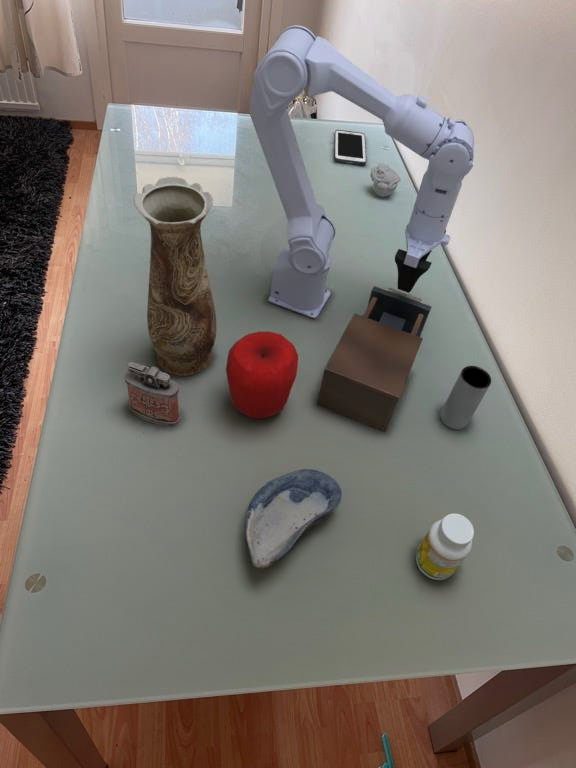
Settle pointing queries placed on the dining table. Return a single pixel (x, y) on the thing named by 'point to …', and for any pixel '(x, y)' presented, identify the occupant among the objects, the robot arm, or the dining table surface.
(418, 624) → the dining table surface
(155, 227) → the vase
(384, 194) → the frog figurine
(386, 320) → the block
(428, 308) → the drawer
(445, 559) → the supplement bottle
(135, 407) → the lighter
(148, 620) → the dining table surface
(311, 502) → the seashell
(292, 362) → the apple
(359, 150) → the cell phone
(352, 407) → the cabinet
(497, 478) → the dining table surface
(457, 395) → the gray cylindrical tube
